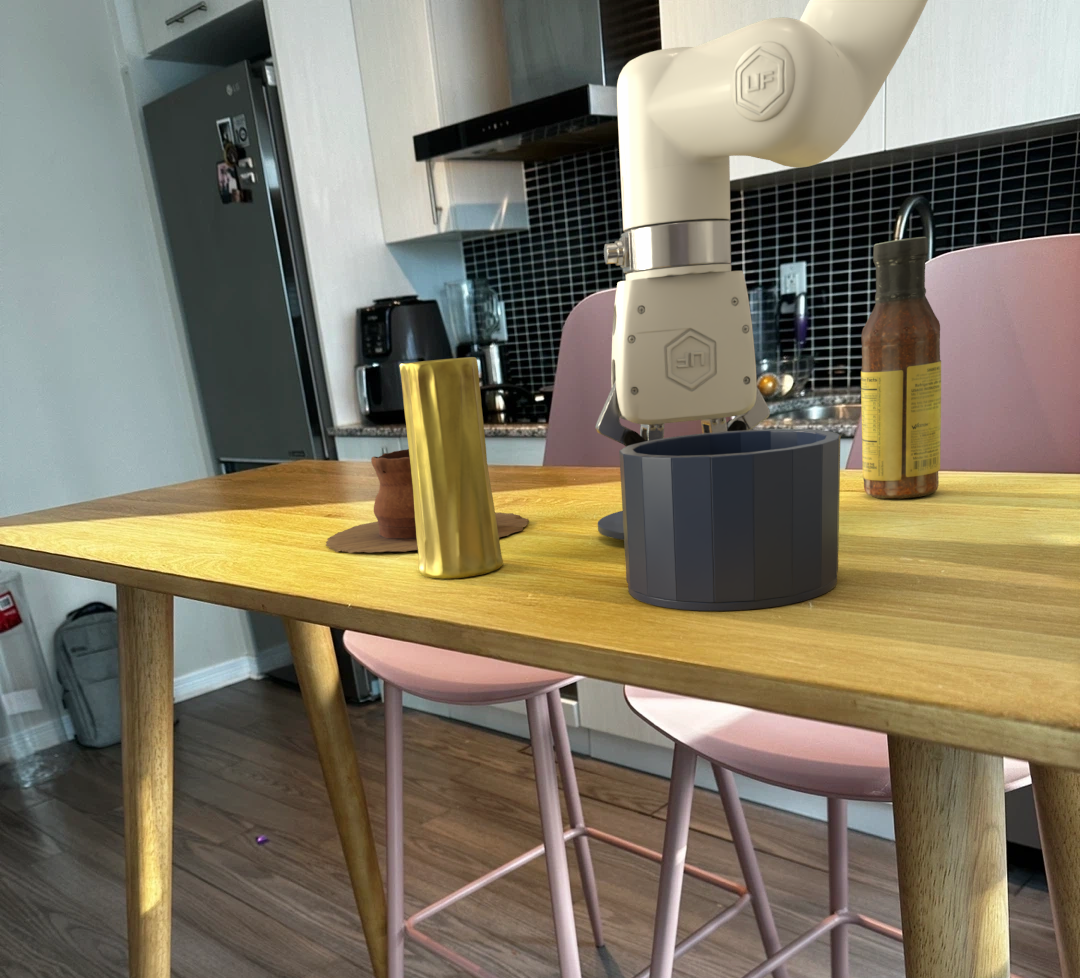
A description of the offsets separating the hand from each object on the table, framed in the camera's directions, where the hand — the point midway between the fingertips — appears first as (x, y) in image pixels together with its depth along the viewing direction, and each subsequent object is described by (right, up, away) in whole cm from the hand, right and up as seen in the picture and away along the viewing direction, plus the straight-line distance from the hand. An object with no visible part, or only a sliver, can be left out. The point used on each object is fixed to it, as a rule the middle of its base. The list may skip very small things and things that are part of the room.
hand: (685, 511), depth 80 cm
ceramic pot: (-21, 0, +10) cm, 23 cm away
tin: (0, -8, -16) cm, 18 cm away
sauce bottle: (+19, +3, +8) cm, 21 cm away
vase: (-17, -5, -6) cm, 19 cm away
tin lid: (0, -1, 0) cm, 1 cm away
